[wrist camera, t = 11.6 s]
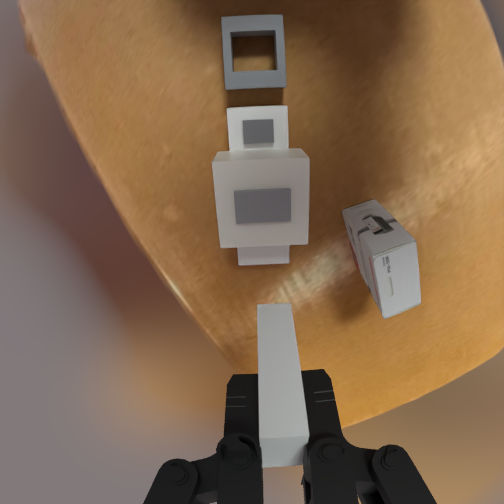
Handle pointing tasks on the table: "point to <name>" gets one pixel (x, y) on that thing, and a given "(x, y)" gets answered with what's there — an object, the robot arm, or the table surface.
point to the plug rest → (254, 27)
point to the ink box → (384, 257)
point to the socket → (251, 138)
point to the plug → (262, 197)
